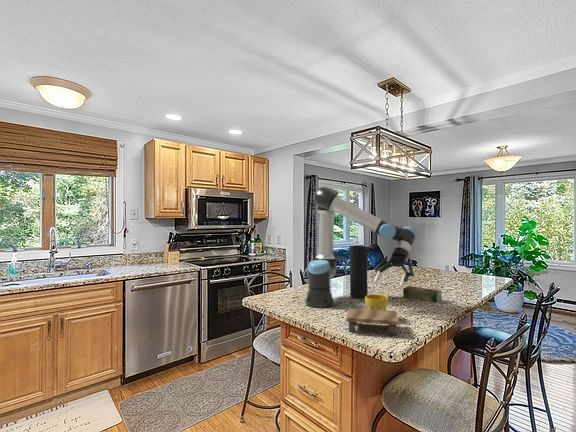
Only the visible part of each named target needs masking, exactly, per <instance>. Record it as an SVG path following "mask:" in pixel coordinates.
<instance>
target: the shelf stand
mask: <svg viewBox="0 0 576 432" xmlns="http://www.w3.org/2000/svg"><path fill="white" fill-rule="evenodd" d="M345 320H346V322H348V332H349V333H352V334H353V333H356V325H357V323H362V324H374V325H375V324H377V325H378V324H379V325H388V328H389V336H392V337H396V336H397V335H398V328H397V327H398V326H399V325H400V322H399V316H398V313H397V311H396V310H386V311H384V310H368V308H367V309H365V308H364V309H362V308H351V307H349V308H348V311H347V314H346V319H345Z"/></svg>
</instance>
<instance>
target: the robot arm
mask: <svg viewBox="0 0 576 432" xmlns="http://www.w3.org/2000/svg"><path fill="white" fill-rule="evenodd" d="M313 202H314V203H315V204H316V206H317V209H316V211H317V212H318V213H319V219H318V220H319V222H318V223H319V224H318V226H319V227H318V250H317V251H318V252H317V253H318V254H317V255H316V256H315V260H311V261H309V263H308V266H307V272H308V273H307V274H308V275H307V277H308V291H307V294H306V297H305V305H306V306H307V305H308V307H310V306H312V307H311V308H316V307H324V308H329V307H333V306H334V298H333V295H332V292H331V284H330V283H331V280H332V279H333V278H334V277H335V276H336V275H337V269H338V268H337V264H336V257H335V256H334V236H335V235H334V233H335V232H334V231H335V214H339V215H341V216H343V217H345V218H347V219H348V220H351V221H352V222H354V223H356V224H358V225H360V226H362V227H364V228H366V229H367V230H370V231H371V232H373V233H375V234H377V235H378V236H380V237H381V238H383V239H385V240H393V241H396V244H395V246H394V249H393V252H392V254H391V257H388V256H387V255H386V256H385V257H384V258H383V260H381V262H379V264H377V265H376V266H375V267H374V268H373V270H374V271H375V274H374V277H375V278H374V280H373V282H374V284H375V285H376V286H377V285H378V284H379V281H380V278H381V276H382V273H384V272H385V271H386V270H388V269H389V268H393V267H398V268H400V267H401V268H402V270H403V271H404V273H403V275H402V277H401V280H400V282H399V287H400V288H401V289H403V288H405V284H406V283H407V282H408V281H409V278H410V277H414V276H415V273H414V269H413V261H412V259H411V258H410V257H409V255H410V251H411V250H412V246H413V245H414V242H415V240H416V235H417V230H416V229H415V227H413V226H411V225H410V226H407V225H406V226H404V227H399V226H397V225H394V224H392V223H390V222H387V221H385V220H383V219H381V218H380V217H377V216H375V215H373V214H371V213H370V212H368V211H365V210H364V209H362V208H360V207H358V206H356V205H354V204H352V203H350V202H348V201H347V200H344V199H342V198H340V196H339V194H338V192H336V190H334V189H332V188H329V187H327V186H322V187H318V188H317V189H316V190H315V191H314V193H313ZM406 263H407V267H408V269H407V268H406V267H405V264H406ZM408 271H409V272H408Z"/></svg>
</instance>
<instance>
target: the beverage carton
mask: <svg viewBox="0 0 576 432" xmlns="http://www.w3.org/2000/svg"><path fill="white" fill-rule="evenodd" d="M402 290H403V291H402V292H403V295H402V296H403V299H407V300H414V301H419V302H424V303H433V304H436V303H438V304H439V303H441V302H442V301H443V296H442V295H443V293H442V290H439V289H431V288H424V287H418V286H412V285H411V286H410V285H408V286H404V287H403V288H402Z"/></svg>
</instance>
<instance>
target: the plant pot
mask: <svg viewBox="0 0 576 432" xmlns="http://www.w3.org/2000/svg"><path fill="white" fill-rule="evenodd" d="M364 300H365V301H364V302H365V305H366V307H367V310H384V311H387V307H388V306H389V297H388V296H387V295H386V294H385V295H384V294H377V293H376V294H375V293H374V294H368V295H367V296H365V298H364Z"/></svg>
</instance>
